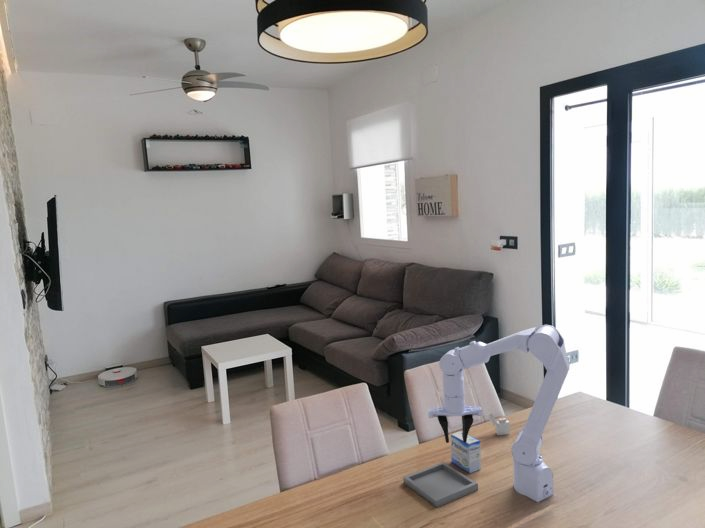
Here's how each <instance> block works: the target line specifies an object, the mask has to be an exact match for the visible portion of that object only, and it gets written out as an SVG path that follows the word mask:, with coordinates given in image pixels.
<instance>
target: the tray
mask: <svg viewBox="0 0 705 528" xmlns="http://www.w3.org/2000/svg"><path fill="white" fill-rule="evenodd" d="M402 480H403V484H405V486H407V487H408V488H409V489H411V490H412V491H414V492H415V493H416V494H418V495H419V496H420V497H421V498H423V499H424V500H425V501H427V502H428V503H430V505H432V506H433V507H435V508H439V507H442V506H445V505H446V504H449V503H451V502H453V501H455V500H458V499H460V498H462V497H465V496H467V495H469V494H472V493H474V492H476V491H479V483H478V482H477V481H475V480H473V479H472V478H470V477H468V476H467V475H465V474H464V473H462V472H460V471H459V470H457V469H456V468H454V467H452V466H451V465H449V464H448V463H446V462H444V461H442V462H441V461H440V462H439V463H436V464H433V465H431V466H429V467H426V468H424V469H420V470H418V471H416V472H412V473H410V474H408V475H404V476H403V479H402Z"/></svg>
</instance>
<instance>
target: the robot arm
mask: <svg viewBox="0 0 705 528" xmlns="http://www.w3.org/2000/svg"><path fill="white" fill-rule="evenodd" d="M514 350H520V351H522V352H524V353H526V354H528V353H529V352H530V353H531V354H532V356H534V357H535V358H536V359H537V360H539V361H540V362H541V363H542V365H543V367H544V369H545V370H546V373H545V375H544V378H543V380H542V383H541V384H540V385H541V386H540V388H539V390H538V392H537V393H538V394H537V395H536V398H535V400H534V403H533V406H532V408H531V410H530V412H529V415H528V418H527V420H526V422H525V425H524V427H522V428H521V429H520V430H519V432H518V434H517V437H516V439H515V441H514V443H513V444H512V445H511V448H510V450H511V455H512V460H513V462H512V463H513V465H512V466H513V488H514V490H515V491H516V492H517V493H518V494H520V495H523V496H525V497H527V498H530V499H532V500H533V501H534V502H537V503H539V502H541V501H544V500H545V499H548V498H549V497H551V496H553V495H555V494H554V472H553V470H552V468H551V467H549V466H548V465H547V464H546V463H545V462H544V459H543V456H542V454H541V451H540V449H541V447H542V446H543V443H544V439H543V434H544V431H545V427H546V426H547V423H548V421H549V418H550V416H551V415H552V412H553V410H554V406H555V404H556V402H557V400H558V397H559V394H560V392H561V390H562V387H563V385H564V383H565V380H566V379H567V375H568V374H569V370H570V362H569V358H568V353H567V350H566V347H565V338H564V337H563V336H562V335H561V333H560V331H559V330H558V329H557V328H556V327H555V326H553V325H550V324H543V325H540V326H538V327H537V326H536V327H531V328H528V329H527V328H526V329H524V330H521V331H518V332H515V333H513V334H509V335H508V336H505V337H502V338H500V339H497V340H495V341H492V342H489V343H485V342H483V341H476V340H472V341H470V342H469V344H468V345H465V346H462V347H459V346H457V347H454V348H453V349H450V350H449V351H447V352H446V353H445V354H443V356H441V358H440V359H439V363H438V365H439V369H440V370H441V371H442V388H443V389H442V390H443V391H442V392H443V393H442V394H443V406H439V407H435V408H427V410H428V411H427V415H428V419H433V418H437V420H438V423H439V424H440V425H439V426H440V427H441V429H442V431H443V433H444V440H445V442H446V444H448V443H450V438H449V421H448V417H461V424H462V437H463V441H464V442H466V441H467V436H468V435H469V432H470V429H471V427H472V425H473V423H474V416H477V417H482V416H483V410H482V407H481V406H470V405H466V401H465V399H466V398H465V397H466V395H465V375H464V374H465V373H464V370H467V369H471V368H474V367H477V366H479V365H482V364H487V363H488V362H489V361H490V358H491V357H492V356H495V355H498V354H503V353H507V352H510V351H514Z"/></svg>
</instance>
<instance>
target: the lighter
mask: <svg viewBox="0 0 705 528" xmlns="http://www.w3.org/2000/svg"><path fill="white" fill-rule="evenodd" d="M486 415H487V418H488V419H489V421H490V423H491V424H492V425H493V426H495V434H496V435H497V436H505V435H510V434H511V432H510V431H511V429H510V423H511V422H510V421H509V420H508V419H507V418H505V417H502V418H501V417H499V418H498V421H497V419H496V418H495V416H494V414H493V413H492V411H488V412H487V413H486Z"/></svg>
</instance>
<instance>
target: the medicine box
mask: <svg viewBox="0 0 705 528" xmlns="http://www.w3.org/2000/svg"><path fill="white" fill-rule="evenodd" d="M481 449H482V448H481V440H480V439H477V438H475V437H473V436H472V435H469V434H468V436H467V441H466V442H464V441H463V437H462V431H457V432H454V433H452V434H450V454H451V456H450V457H451V463H452V464H454V465H456V466H457V467H459V468H460V469H463V471H466V472H467V473H469V474H472V473H474V472H478V471H479V470H481V469H482V456H481Z"/></svg>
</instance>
